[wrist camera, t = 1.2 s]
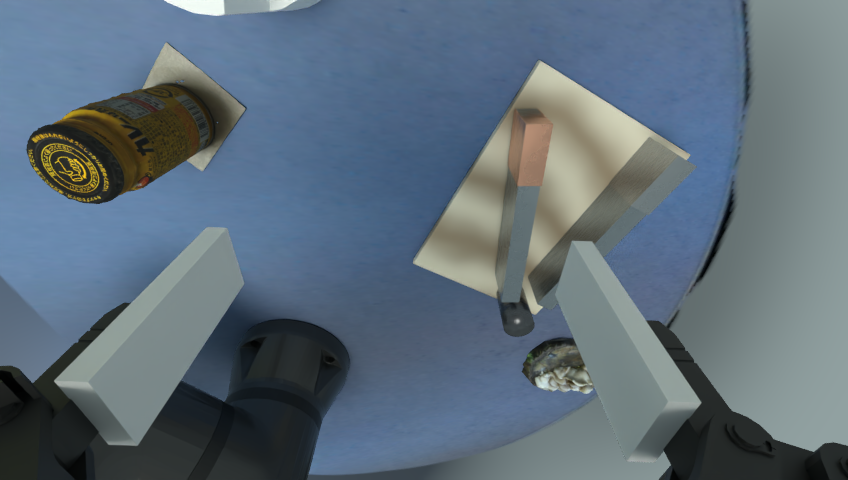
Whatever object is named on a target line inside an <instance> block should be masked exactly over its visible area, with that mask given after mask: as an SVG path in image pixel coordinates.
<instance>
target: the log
mask: <svg viewBox="0 0 848 480" xmlns="http://www.w3.org/2000/svg"><path fill="white" fill-rule="evenodd" d="M523 366H524V368H523V370H522V372H523V373H524V374H525V376H526V377H527V378H528V379H529V380H530V382H531V383H532V384H533V385H534V386H538V387H539V388H541V389H543V390H549V391H551V392H552V391H555V390H556V389H559V390H560V391H562V392H567V391H568V390H571V389H572V390H574V391H576V390H577V391H580V392H583V393H585V394H586V393H590V391H592V390H593V389H592V388H593V387H594V385H593V382H592V380H591V378H590V375H589V373H588V371H587V368H586V366H585V364H584V361H583V359H582V357H581V354H580V352H579V350H578V347H577V345H576V343H575V340H574V339H555V340H550V341H545V342H543V343H542V344H540V345H539V346H537V347H536V348H534V349H533V350H532V351H531V352H530V353H529V354H528V355H527V359H526V361H525V362H524V363H523ZM594 388H595V387H594Z"/></svg>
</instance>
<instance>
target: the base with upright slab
mask: <svg viewBox="0 0 848 480" xmlns="http://www.w3.org/2000/svg"><path fill="white" fill-rule="evenodd" d="M165 1H166V2H168V3H170V4H173V5H175V6H178V7H180V8H183V9H185V10H188V11H190V12H193V13H198V14H207V15H215V16H222V15H236V14H249V13H263V12H277V11H291V10H298V9H303V8H308V7H311V6H312V5H314V4H316V3H318V2H319V1H321V0H165Z"/></svg>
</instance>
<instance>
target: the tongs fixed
mask: <svg viewBox="0 0 848 480" xmlns="http://www.w3.org/2000/svg"><path fill="white" fill-rule="evenodd" d="M696 167H697V166H695V165H693V164H692V163H690V162H689V161H687V160H685V159H684V158H682V157H681V156H679V155H677V154H676V153H674V152H673V151H671V150H670V149H668V148H666V147H665V146H663V145H662V144H660V143H658V142H657V141H655V140H653V139H652V138H650V137H649V138H648V139H647V140H646V141H645V142H644V143H643V144H642V146H641V147H640V148H639V149H638V150H637V151H636V152H635V154H634V155H633V156H632V157H631V158H630V159H629V160H628V162H627V163H626V164H625V165H624V166H623V167H622V168H621V170H620V171H619V172H618V173H617V174H616V175H615V176H614V177H613V179H612V180H611V181H610V182H609V185H608V186H607V187H606V188H605V189H604V190H603V191H602V192H601V194H600V195H599V196H598V197H597V198H596V199H595V200H594V202H593V203H592V204H591V205H590V206H589V207H588V208H587V210H586V211H585V212H584V213H583V214H582V215H581V216H580V217H579V219H578V220H577V221H576V222H575V223H574V224H573V225H572V227H571V228H570V229H569V230H568V231H567V232H566V233H565V234H564V236H563V237H562V238H561V239H560V240H559V241H558V242H557V244H556V245H555V246H554V247H553V248H552V249H551V250H550V252H549V253H548V254H547V255H546V256H545V257H544V258H543V259H542V261H541V262H540V263H539V264H538V265H537V266H536V267H535V269H534V270H533V271H532V272H531V273H530V274H529V275H528V279H529V282H530V285H531V288H532V291H533V293H534V296H535V299H536V302H537V304H538V305H540V306H543V307H545V308H547V309H550V310H552V309H553V308H554V307H555V306H556V305H557V304H558V301H557V298H556V296H555V293H556V290H557V287H558V284H559V281H560V277H561V274H562V271H563V268H564V265H565V262H566V258H567V255H568V252H569V249H570V246H571V243H572V241H592V242H593V244H594V245H595V247H596V248H597V250H598V251H599V253H600V254H601V255H602V257H603V258H604V257H605V256H606V255H607V254H608V253H609V252H610V251H611V250H612V249H613V248H614V247H615V246H616V245H617V244H618V243H619V242H620V241H621V240H622V239H623V238H624V237H625V236H626V235H627V234H628V233H629V232H630V231H631V230H632V229H633V228H634V227H635V226H636V225H637V224H638V223H639V222H640V221H641V220H642V219H643V218H644V217H645V216H646V215H649V214H650V213H651V212H652V211H653V210H654V209H655V208H656V207H657V206H658V205H659V204H660V203H661V202H662V201H663V200H664V199H665V198H666V197H667V196H668V195H669V194H670V193H671V192H672V191H673V190H674V189H675V188H676V187H677V186H678V185H679V184H680V183H681V182H682V181H683V180H684V179H685V178H686V177H687V176H688V175H689V174H690V173H691V172H692V171H693V170H694V169H695V168H696ZM496 295H497V300H498V304H499V309H500V313H501V318H502V323H503V327H504V331H505V332H506V333H507V334H508V335H511V336H515V337H519V336H524V335H527V334H529V333H530V332H531V331H532V330H533V328H534V321H533V317H532V314H531V311H530V308H529V305H528V302H527V298H526V295H525V292H524V289H523V287H522V289H521V295H520V300H519V302H501V298H500V294H499V290H497V293H496Z"/></svg>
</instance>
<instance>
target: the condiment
mask: <svg viewBox="0 0 848 480" xmlns="http://www.w3.org/2000/svg"><path fill="white" fill-rule="evenodd" d="M180 80H184V81H185V82H180ZM176 81H179V83H176ZM244 111H245V108H244V107H243V106H242V105H241V104H240V103H238V102H237V100H236V99H234V98H233V97H232V96H231V95H230V94H228V93H227V92H226V91H225V90H224V89H222V88H221V87H220V86H219V85H218V84H217V83H216V82H214V81H213V80H212V79H211V78H209V77H208V76H207V75H206V74H205V73H204V72H203V71H202V70H200V69H199V68H197V67H196V66H195V65H193V64H192V63H191V62H190V61H188V60H187V59H186V58H185V57H184V56H183V55H182V54H180V53H179V52H177V51H176V50H175V49H174V48H172V47H171V46H170V45H169V44H168V43H165V45H164V47H163V48H162V50H161V52H160V55H159V57H158V58H157V60H156V62H155V64H154V66H153V68H152V70H151V71H150V74H149V76H148V78H147V80H146V82H145V84H144V86H143V88H142V89H139V90H135V91H133V92H131V93H122V94H120V95H119V96H117V97H112V98H110V99H108V100H103V101H99V102H95V103H90V104H88V105H86V106H84V107H80V108H78V109H76V110H73V111H71V112H70V113H68V114H67V115H66V116H65V117H63V118H62V120H60V121H57V122H55V123H54V124H52V125H46V126H43V127H41V128H38V130H37V131H34V132H33V133H32V135H31V136H30V138H29V140H28V144H27V154H28V156H29V160H30V163H31V165H32V167H33V169H34V170H35V171H36V173H37V174H38V175H39V176H40V177H41V178H42V180H43V181H45V182H46V183H47V184H48V185H49V186H50V187H51V188H52V189H54V190H56V191H57V192H59V193H60V194H62V195H64V196H66V197H67V198H68V199H73V200H76V201H79V202H82V203H94V204H100V203H103V202H108V201H111V200H113V199H114V198H116V197H117V196H118V195H121V194H123V193H125V192H127V191H134V190H138V189H141V188H144V187H145V186H147V185H148V184H149V183H151V182H153V181H154V180H155V179H157V178H159V177H160V176H162V175H163V174H165V173H167V172H168V171H170V170H171V169H173V168H175V167H176V166H178V165H179V164H181V163H182V162H184V161H186V160H187V161H188V162H190V163H191V164H192V165H194V166H195V167H197V168H198V169H200V170H201V171H203V170H204V169H205V167H206V166H207V165H208V163H209V162H210V160H211V159H212V157H213V156H214V155H215V153H216V152H217V150H218V149H219V147H220V146H221V144H222V143H223V141H224V140H225V138H226V137H227V135H228V134H229V133H230V131H231V130H232V128H233V127H234V126H235V124H236V123H237V121H238V119H239V118H240V116H241V115H242V114H243V112H244ZM217 122H218V123H217Z"/></svg>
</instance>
